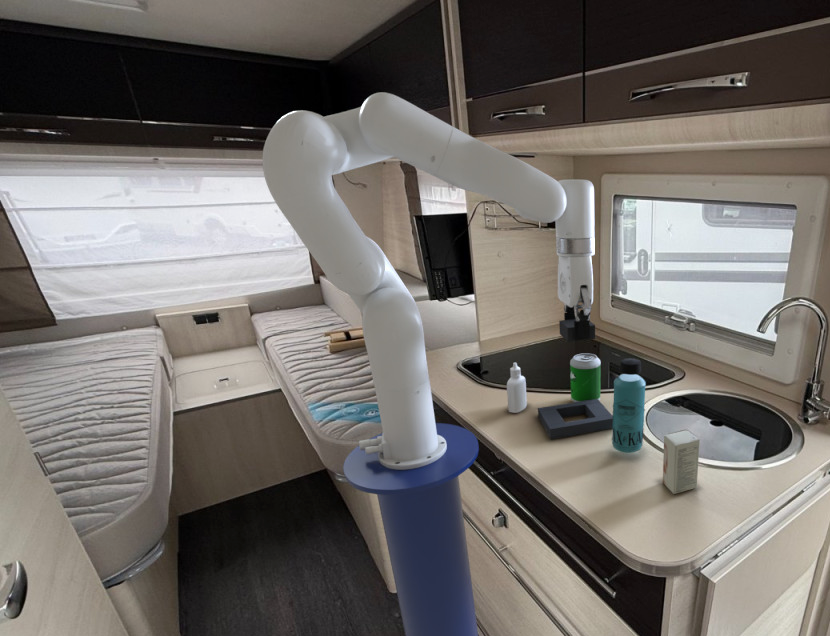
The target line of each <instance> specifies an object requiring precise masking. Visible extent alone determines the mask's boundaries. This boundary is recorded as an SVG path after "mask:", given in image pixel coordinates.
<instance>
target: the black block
mask: <svg viewBox="0 0 830 636" xmlns="http://www.w3.org/2000/svg"><path fill="white" fill-rule="evenodd" d="M575 320H576V319H571V320H564V319H563V320H559V322H558V323H559V326H558V327H559V335H560V336H561V337H562V338H563V339H564V340H565V341H566V342H567V343H571V342H579V341H589V340H596V325H595V324H594V323H593V322H592V321H590V338H589V339H582V340H575V339H574V321H575Z"/></svg>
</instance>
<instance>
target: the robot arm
mask: <svg viewBox="0 0 830 636" xmlns="http://www.w3.org/2000/svg"><path fill="white" fill-rule="evenodd" d="M392 158H396V159H398V160H400V161H402V162H404V163H406V164H408V165H410V166H412V167H415V168H416V169H419V170H420V171H423V172H425V173H426V174H429V175H430V176H433V177H435V178H437V179H439V180H440V181H443V182H445V183H447V184H449V185H451V186H453V187H456V188H458V189H461V190H464V191H468V192H472V193H475V194H480V195H482V196H486V197H488V198H490V199H493V200H495V201H497V202H499V203H502V204H504V205H506V206H508V207H510V208H513V210H514V212H515V213H516V214H517V215H518V216H520V217H521V218H523V219H525V220H528V221H531V222H537V223H544V224H548V223H553V222H555V249H556V256H558V261H557V298H558V300H559V301H560V302H562V303H563V317H564V319H563V320H571V319H576V320H575V321H574V339H575V340H581V341H583V340H582V339H589V338H590V322H591V310H592V304H593V302H594V274H593V264H592V256H595V187H594V184H593V182H592V181H591V180H588V179H577V178H576V179H559V180H556V179H555V178H554V177H552V176H550V175H549V174H547V173H545V172H543V171H542V170H540V169H538V168H536V167H535V166H532V165H531V164H529V163H527V162H525V161H523V160H521V159H519V158H517V157H515V156H514V155H511V154H510V153H507V152H504V151H503V150H500V149H499V148H496V147H494V146H492V145H490V144H488V143H486V142H484V141H482V140H480V139H477V138H476V137H473V136H472V135H470V134H468V133H466V132H464V131H462V130H460V129H458V128H457V127H455V126H453V125H451V124H449V123H448V122H445V121H444V120H442V119H440V118H438V117H436V116H434V114H432V113H431V114H430V113H429V112H427V111H425V110H424V109H422V108H420V107H418V106H417V105H415V104H413V103H411V102H410V101H407V100H406V99H404V98H402V97H400V96H398V95H395V94H393V93H389V92H385V91H384V92H376V93H373V94H371V95H369V96H368V97H367V98H366V99H364V101H363V103H362V105H361V106H359V107H356V108H352V109H348V110H346V111H341V112H338V113H334V114H330V115H326V116H323V115H321V114H320V113H317V112H314V111H310V110H303V109H302V110H301V109H300V110H293V111H290V112H288V113H286V114H284V115H283V116H281V117H280V118H279V119H278V120H277V121H276V122H275V124H274V125H273V126H272V128H271V129H270V131H269V133H268V135H267V137H266V140H265V142H264V145H263V149H262V171H263V176H264V180H265V183H266V186H267V189H268V191H269V193H270V195H271V197H272V199H273V200H274V202H275V204H276V206H277V208H279V210H280V212H281V213H282V214H283V216H284V217H285V219H286V220H287V222H288V223H289V225H290V226H291V227H292V229H293V230H294V232H295V233H296V235H297V236H298V237H299V239H300V241H301V242H302V243H303V245H304V246H305V248H306V249H307V250H308V252H309V254H310V255H311V256H312V258H313V259H314V260H315V262H316V263H317V265H318V266H319V267H320V269H321V270H322V272H323V273H324V275H325V276H326V279H328V281H329V282H330V283H331V284H332V286H333V287H335V288H336V289H337V290H339V291H341V292H342V293H345V294H347V295H348V296H349V298H350V299H351V300H352V301H353V303H354V305H355V306H356V307H357V308H358V310H359V311H360V313H361V314H362V317H361V328H362V334H363V340H364V345H365V349H366V352H367V353H366V354H367V357H368V360H369V366H370V370H371V371H370V372H371V377H372V382H373V386H374V391H375V397H376V401H377V407H378V413H379V418H380V424H381V429H382V433H383V434H382V436H378V437H377V439H370V438H368V439H362V440H361V439H360V440H359V442H358V444H359V445H358V446H360V450H361V451H362V450H365V451H366V455H367V454H373V453H377V452H379V453H378V457H379V461H380V463H381V464H382V465H383V466H385V467H387V468H390V469H396V470H407V469H414V468H419V467H422V466H425V465H428V464H431V463H432V462H434V461H436V460H438V459H439V458H440V457H441V456H443V455H444V453H445V452H446V449H447V444H446V440H445V439H444V438H443V437H442V436H440V435H437V431H436V424H435V423H436V416H435V411H434V410H435V409H434V403H433V402H434V401H433V394H432V389H431V380H430V376H429V369H428V360H427V352H426V344H425V331H424V324H423V320H422V315H421V313H420V310H419V307H418V305H417V303H416V300H415V299H414V297H413V296H412V294H411V292H410V291H409V289H408V288H407V287H406V284H405V283H404V282H403V280H402V278H401V277H400V276H399V274H398V272H397V271H396V270H395V268H394V267H393V265H392V263H391V262H390V260H389V259H388V257H387V255H385V253H384V251H383V250H382V249H381V247H380V245H378V244H377V242H375V241H374V240H373V239H372V238H370V237H369V236H367V235H366V234H365V233H364V231H363V230H362V228H361V226H359V224H358V222H356V220H355V218H354V217H353V215H352V213H351V212H350V210H349V208H348V207H347V205H346V204H345V202H344V201H343V199H342V197H341V196H340V195H339V193H338V191H337V189H336V187H335V185H334V181H333V176H334V175H338V174H343V173H344V172H348V171H352V170H355V169H359V168H361V167H365V166H368V165H372V164H373V165H374V164H376V163H379V162H382V161H384V160H386V161H387V160H389V159H392ZM580 303H581V304H580Z"/></svg>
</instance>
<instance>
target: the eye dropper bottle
mask: <svg viewBox="0 0 830 636" xmlns="http://www.w3.org/2000/svg"><path fill="white" fill-rule="evenodd" d="M512 364H513V365H512V367H510V368H509V371H510V372H509V373H510V377H509V379H508V380H507V382H506V396H507V407H508V408H507V410H508V412H509V413H513V414H517V413H518V414H519V413H521V412H523V411H524V410H525V409H526V408H527V406H528V397H527V395H528V394H527V383H526V381H527V380H526V377H525V376H524V375H522V372H521V371H522V370H521V367H520V366H518V363H517V362H513V363H512Z"/></svg>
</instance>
